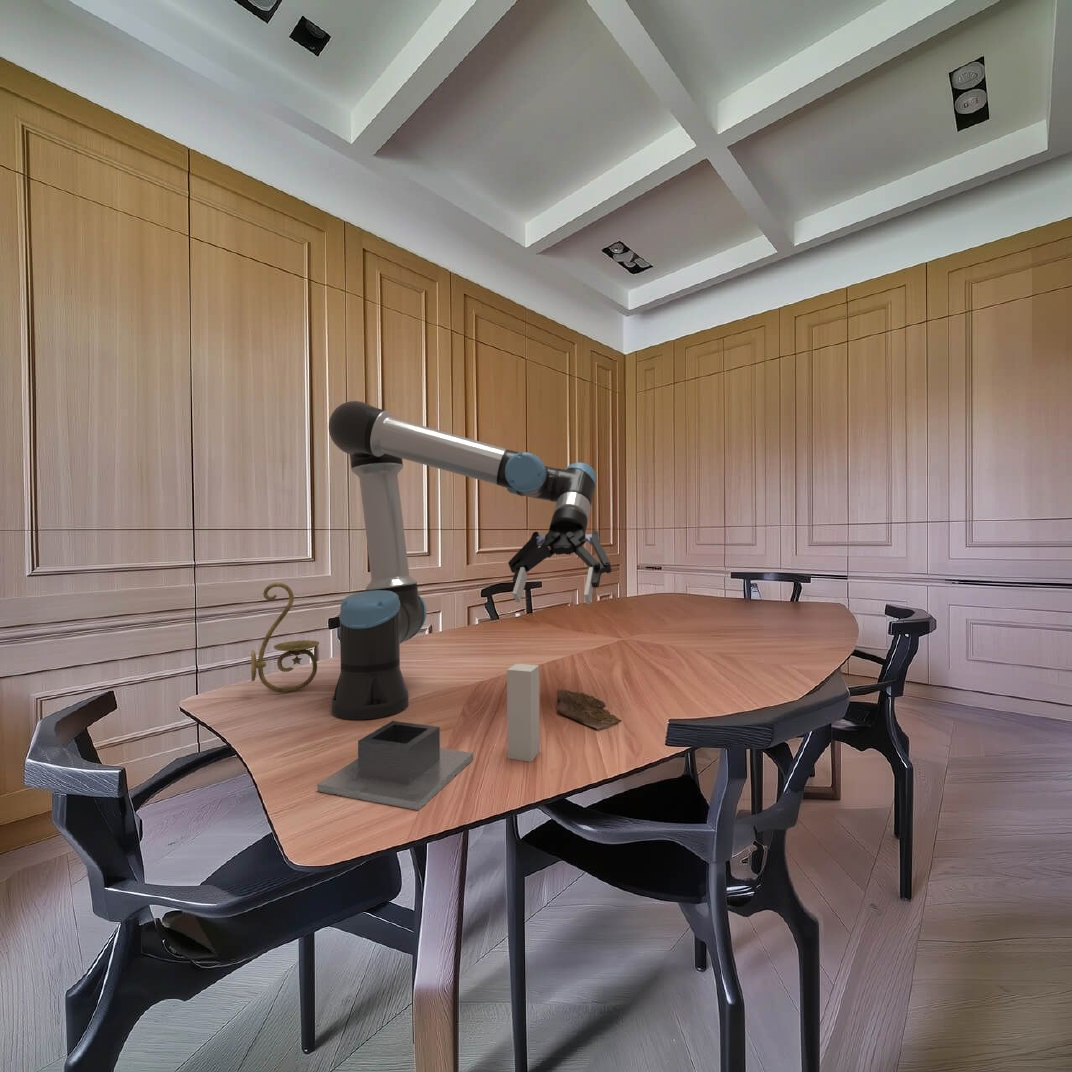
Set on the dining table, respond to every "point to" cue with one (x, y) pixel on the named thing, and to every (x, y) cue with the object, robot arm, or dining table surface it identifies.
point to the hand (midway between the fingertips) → (550, 598)
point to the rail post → (523, 712)
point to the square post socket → (398, 767)
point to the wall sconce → (283, 648)
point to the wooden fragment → (585, 709)
